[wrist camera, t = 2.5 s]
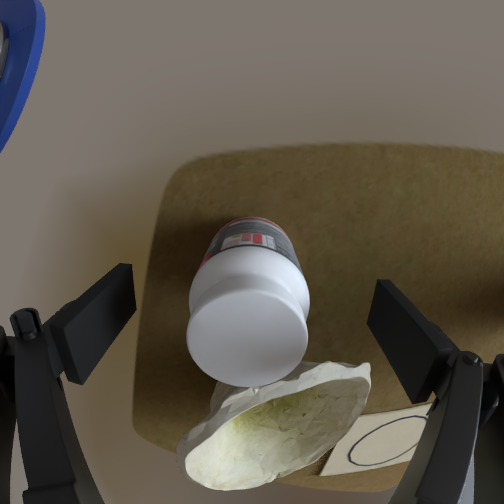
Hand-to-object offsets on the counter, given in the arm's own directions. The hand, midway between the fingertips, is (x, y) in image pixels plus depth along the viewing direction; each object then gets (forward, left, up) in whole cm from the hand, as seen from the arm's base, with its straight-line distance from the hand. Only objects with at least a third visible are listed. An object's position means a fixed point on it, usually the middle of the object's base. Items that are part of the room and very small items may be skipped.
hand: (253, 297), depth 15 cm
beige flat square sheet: (+24, +19, -6) cm, 31 cm away
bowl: (+11, +3, -6) cm, 13 cm away
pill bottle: (0, 0, -6) cm, 6 cm away
